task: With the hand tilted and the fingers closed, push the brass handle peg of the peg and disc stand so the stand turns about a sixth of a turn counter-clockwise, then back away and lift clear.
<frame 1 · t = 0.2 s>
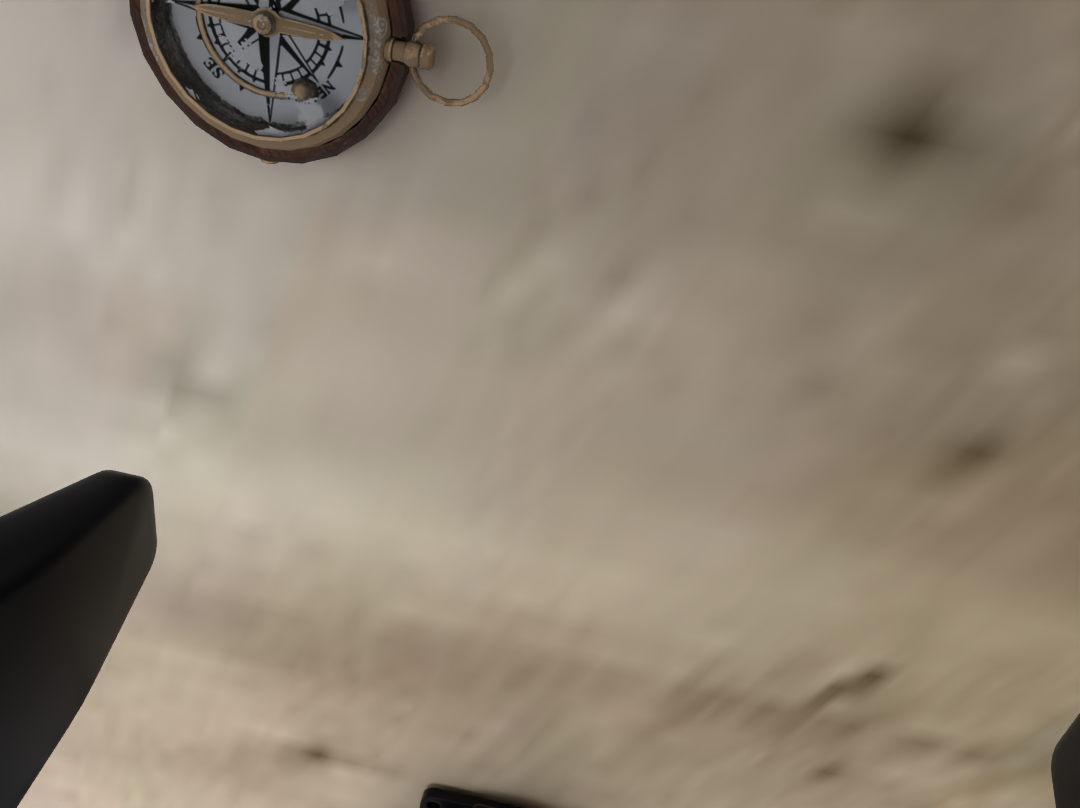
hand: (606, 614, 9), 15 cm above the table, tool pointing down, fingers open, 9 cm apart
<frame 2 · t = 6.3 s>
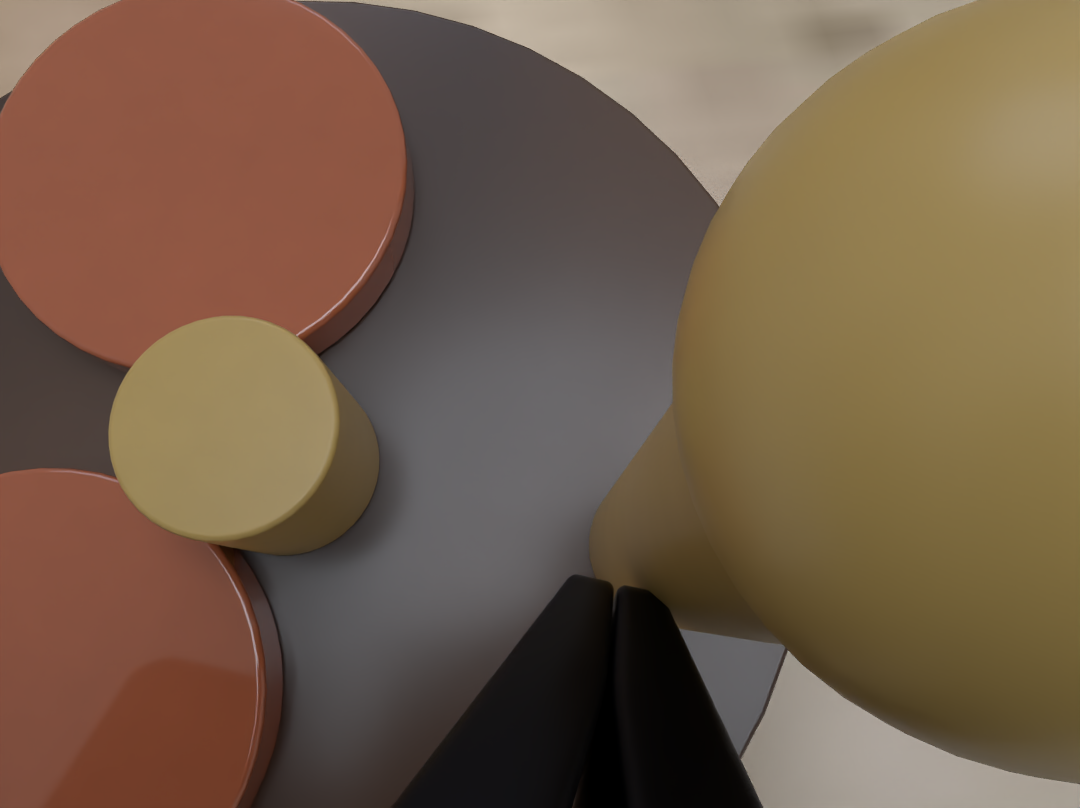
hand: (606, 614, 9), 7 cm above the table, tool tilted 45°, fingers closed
peg and disc stand: (144, 378, 8), point 8 cm above the table, hinge at 0.2°, touching gripper
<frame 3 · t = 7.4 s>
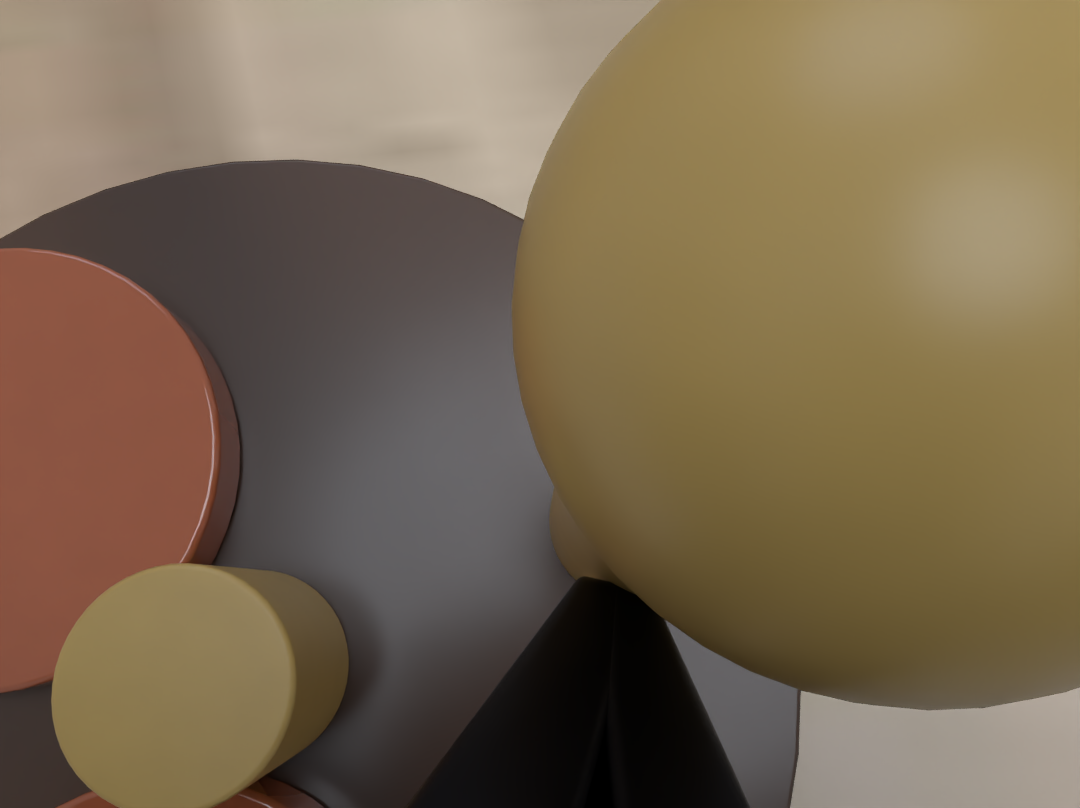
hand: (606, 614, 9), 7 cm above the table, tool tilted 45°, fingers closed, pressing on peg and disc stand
peg and disc stand: (72, 713, 8), point 8 cm above the table, hinge at 34.3°, touching gripper
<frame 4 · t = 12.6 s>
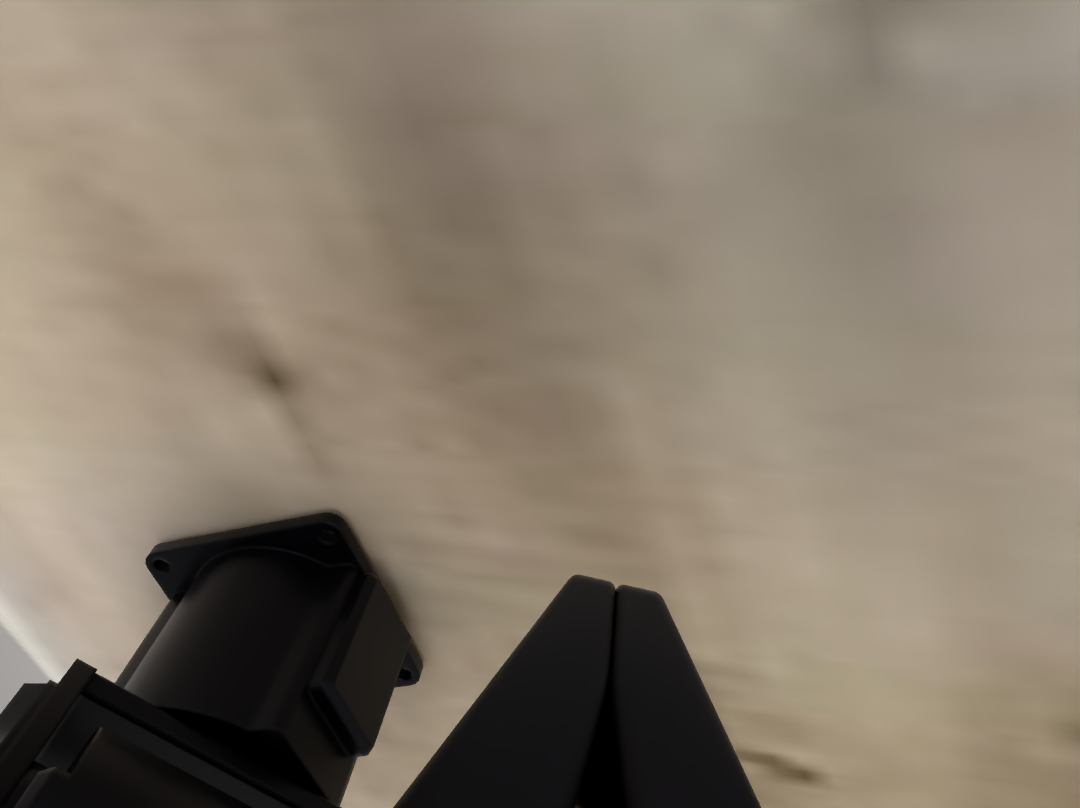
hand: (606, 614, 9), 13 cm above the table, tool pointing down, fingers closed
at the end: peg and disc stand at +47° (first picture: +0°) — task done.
